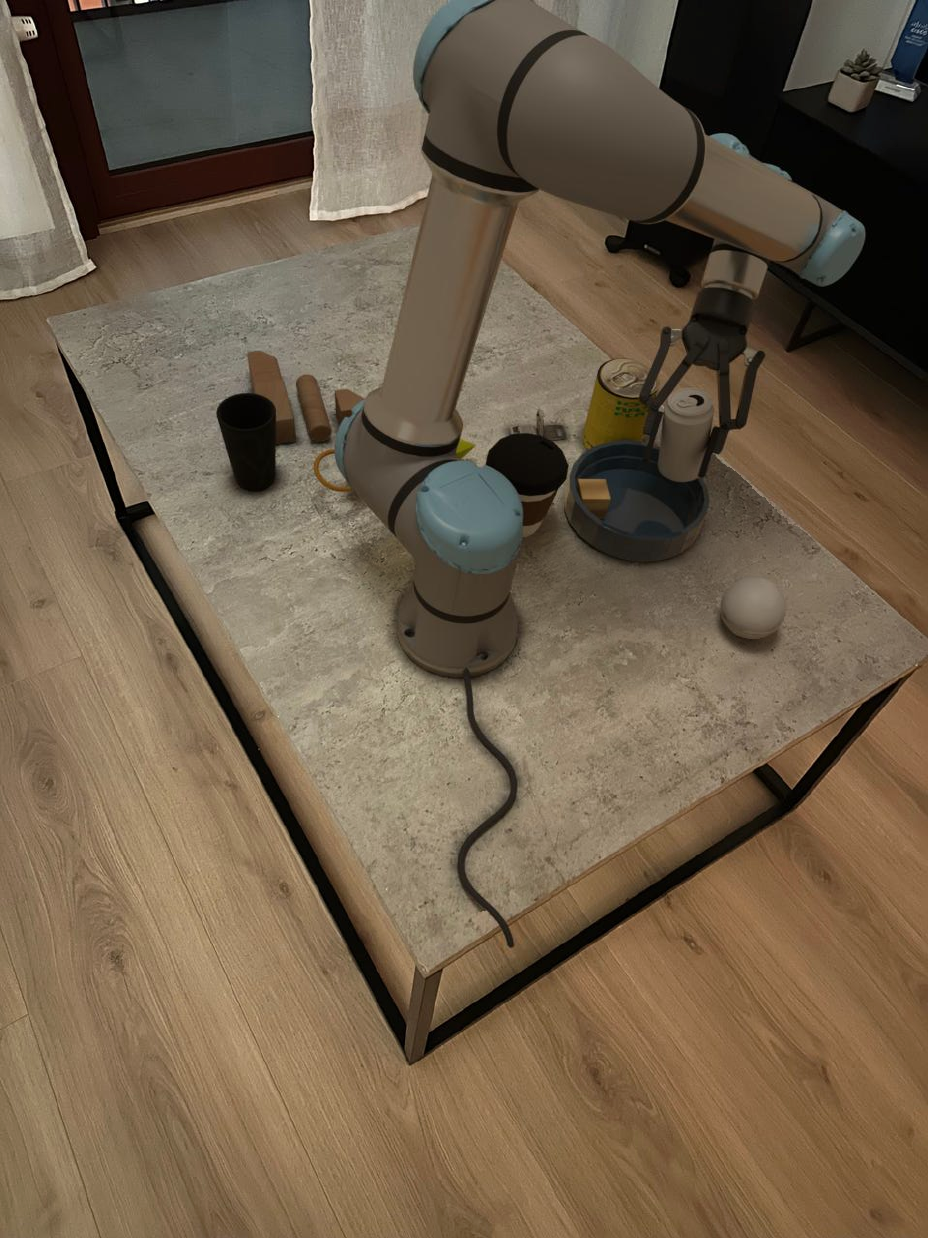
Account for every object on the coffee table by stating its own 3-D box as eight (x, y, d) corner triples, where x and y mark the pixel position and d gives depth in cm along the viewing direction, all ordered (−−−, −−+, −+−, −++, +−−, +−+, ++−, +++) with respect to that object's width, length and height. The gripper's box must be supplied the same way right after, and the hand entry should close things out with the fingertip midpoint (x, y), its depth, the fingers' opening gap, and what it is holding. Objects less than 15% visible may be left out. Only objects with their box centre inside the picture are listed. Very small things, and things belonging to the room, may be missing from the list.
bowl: (687, 580, 122) (698, 556, 118) (548, 540, 124) (554, 515, 120) (708, 486, 134) (718, 461, 130) (581, 452, 136) (587, 426, 132)
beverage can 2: (712, 478, 124) (725, 408, 114) (669, 491, 123) (678, 421, 113) (690, 449, 127) (701, 379, 118) (649, 461, 127) (656, 392, 117)
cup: (272, 502, 125) (264, 435, 115) (219, 491, 125) (207, 423, 116) (290, 465, 129) (283, 398, 120) (239, 455, 130) (228, 387, 120)
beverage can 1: (651, 444, 139) (672, 380, 129) (615, 469, 134) (633, 406, 125) (607, 414, 142) (624, 350, 133) (570, 438, 138) (584, 374, 128)
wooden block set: (262, 421, 126) (244, 344, 137) (266, 451, 131) (248, 375, 141) (379, 406, 130) (353, 332, 140) (379, 436, 135) (354, 362, 145)
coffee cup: (514, 483, 131) (524, 418, 121) (571, 524, 127) (587, 460, 117) (462, 519, 126) (469, 454, 116) (520, 563, 121) (532, 500, 112)
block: (604, 519, 127) (610, 499, 124) (577, 519, 127) (582, 498, 123) (600, 499, 129) (605, 478, 126) (572, 498, 129) (578, 478, 126)
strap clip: (512, 443, 136) (516, 421, 133) (508, 429, 138) (511, 407, 135) (566, 439, 138) (571, 418, 134) (561, 426, 139) (566, 404, 136)
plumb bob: (454, 439, 136) (299, 468, 125) (472, 400, 129) (308, 427, 118) (479, 487, 133) (322, 521, 122) (499, 450, 126) (333, 482, 115)
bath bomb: (700, 616, 118) (718, 577, 112) (744, 594, 121) (764, 555, 115) (741, 660, 114) (762, 622, 108) (785, 636, 117) (809, 598, 111)
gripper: (797, 321, 118) (742, 490, 121) (651, 284, 121) (601, 451, 124) (810, 306, 111) (751, 487, 114) (654, 267, 113) (600, 445, 116)
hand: (673, 468), depth 119 cm, fingers closed on beverage can 2, 7 cm apart
